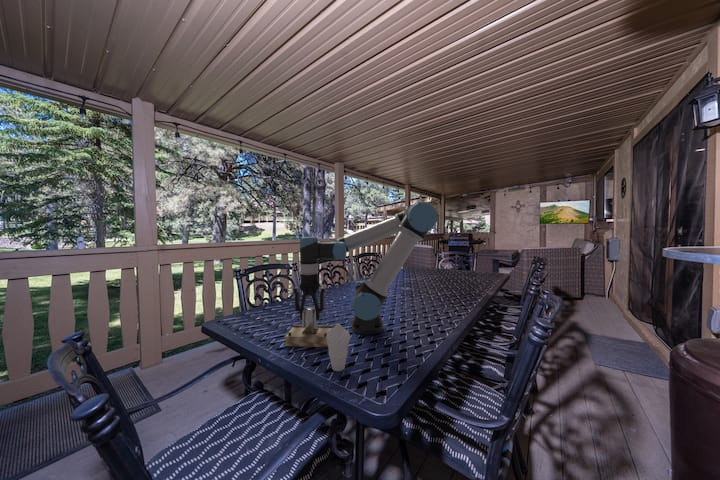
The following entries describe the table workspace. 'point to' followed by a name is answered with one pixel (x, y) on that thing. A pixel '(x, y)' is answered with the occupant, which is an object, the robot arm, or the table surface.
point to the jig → (308, 336)
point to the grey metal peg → (309, 320)
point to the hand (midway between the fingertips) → (309, 326)
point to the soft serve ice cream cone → (338, 346)
